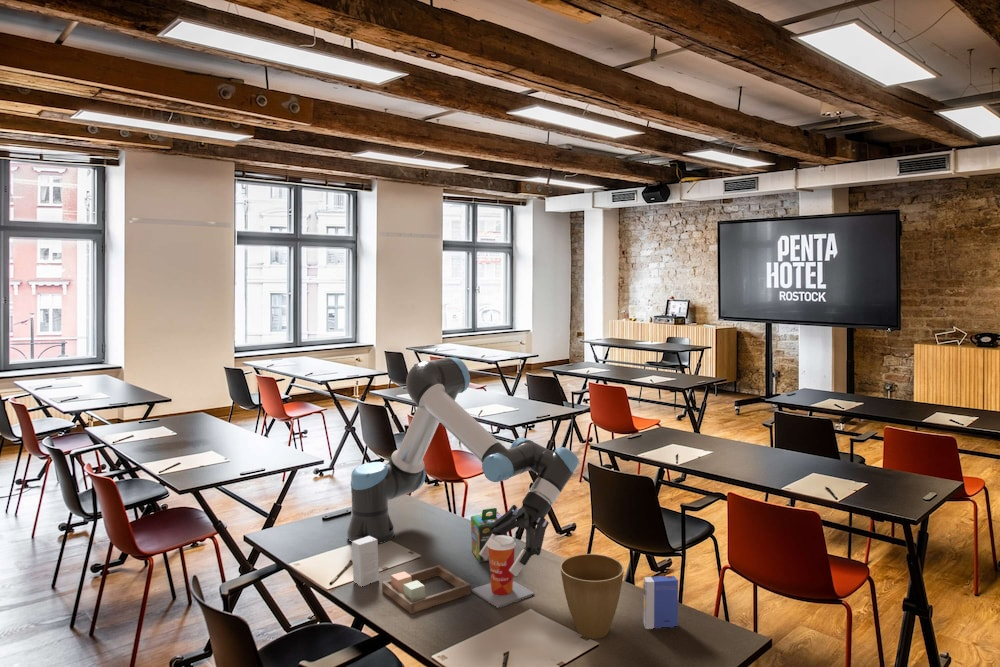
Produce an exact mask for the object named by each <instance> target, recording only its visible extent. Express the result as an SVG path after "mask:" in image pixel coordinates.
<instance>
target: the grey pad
mask: <svg viewBox="0 0 1000 667" xmlns="http://www.w3.org/2000/svg"><path fill="white" fill-rule="evenodd" d="M470 592H472V593H473V594H475V595H476V596H478V597H479V598H481V599H483V601H486V602H487V601H488V602H487V603H488V604H490V603H491V604H490V605H492V606H493V605H494V606H493V607H495V606H496V607H495V608H497V609H500V608H502V607H501V606H503V607H505V606H508V605H510V603H511V604H514V603H517V602H519V601H522V600H524V598H525V599H528V598H530V597H532V595H533V596H534V595H535V592H533V591H531V590H530V589H529V588H527V587H525V586H523V585H521V584H520V583H518V582H516V581H514V580H513V588H512V592H511V593H510V594H507V595H496V594H494V593H493V592H492V589H491V582H488V583H486V584H483V585H480V586H477V587H475V588H470ZM521 599H522V600H521ZM513 602H514V603H513ZM507 604H508V605H507ZM504 605H505V606H504ZM499 607H500V608H499Z"/></svg>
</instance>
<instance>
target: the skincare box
mask: <svg viewBox="0 0 1000 667" xmlns="http://www.w3.org/2000/svg"><path fill="white" fill-rule="evenodd" d="M378 545H379V544H378V540H377V539H375V538H373V537H371V536H367V537H364V538H361V539H358V540H355V541H352V543H351V556H352V557H351V558H352V581H354V582H355V583H357V584H358V585H357V584H356V585H357V586H358V587H360V586H361V588H363V587H365V586H369V585H370V583H371V584H372V583H376V582H378V581H380V572H379V571H380V570H379V546H378ZM354 582H353V583H354ZM355 583H354V584H355ZM362 586H363V587H362Z"/></svg>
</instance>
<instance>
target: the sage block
mask: <svg viewBox="0 0 1000 667" xmlns="http://www.w3.org/2000/svg"><path fill="white" fill-rule="evenodd" d="M404 596H406V597H407V598H408V599H410V600H411V601H412V602H413V601H416V600H419V599H422V598H425V597H426V587H425V585H424V584H423V583H421V581H418V580H416V581H413V582H409V583H406V584H404Z"/></svg>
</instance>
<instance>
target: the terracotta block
mask: <svg viewBox="0 0 1000 667" xmlns="http://www.w3.org/2000/svg"><path fill="white" fill-rule="evenodd" d="M409 574H410V573H408V572H406V571H405V570H404V571H400V572H397V573H394V574H391V575H390V580H391V586H392V587H394V588H395V589H396V590H398V591H399V592H400V593H402V594H403V595H404V584H406V583H409V582H412V576H410V575H409Z"/></svg>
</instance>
